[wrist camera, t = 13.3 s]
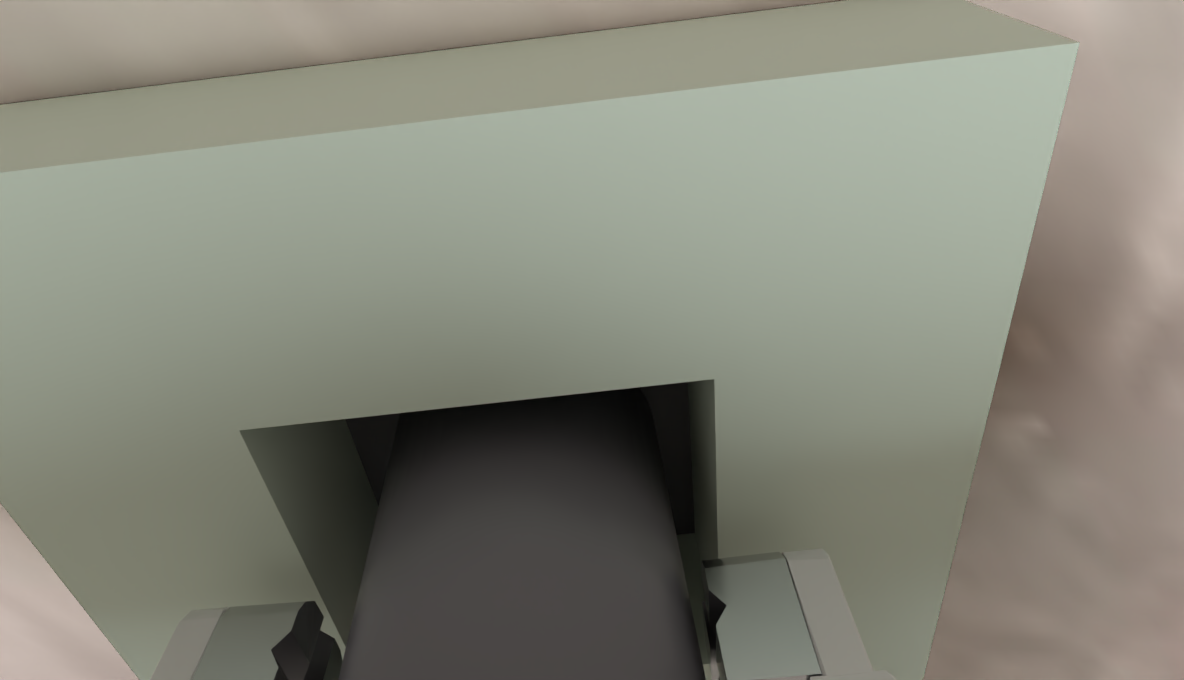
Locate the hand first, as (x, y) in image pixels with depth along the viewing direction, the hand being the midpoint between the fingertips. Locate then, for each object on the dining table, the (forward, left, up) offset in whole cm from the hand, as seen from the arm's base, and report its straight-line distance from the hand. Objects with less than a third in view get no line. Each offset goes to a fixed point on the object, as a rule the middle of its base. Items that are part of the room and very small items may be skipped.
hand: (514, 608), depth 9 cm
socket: (0, 0, -4) cm, 4 cm away
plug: (0, 0, -3) cm, 3 cm away
